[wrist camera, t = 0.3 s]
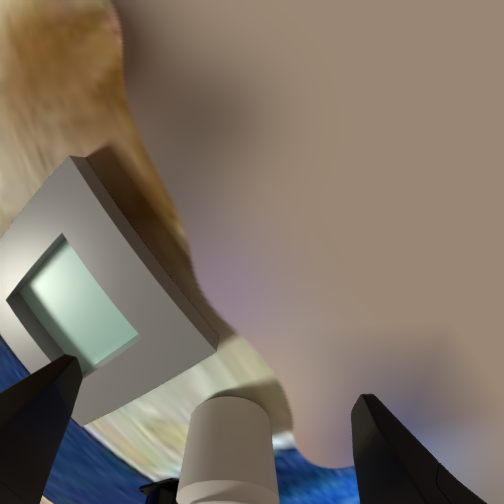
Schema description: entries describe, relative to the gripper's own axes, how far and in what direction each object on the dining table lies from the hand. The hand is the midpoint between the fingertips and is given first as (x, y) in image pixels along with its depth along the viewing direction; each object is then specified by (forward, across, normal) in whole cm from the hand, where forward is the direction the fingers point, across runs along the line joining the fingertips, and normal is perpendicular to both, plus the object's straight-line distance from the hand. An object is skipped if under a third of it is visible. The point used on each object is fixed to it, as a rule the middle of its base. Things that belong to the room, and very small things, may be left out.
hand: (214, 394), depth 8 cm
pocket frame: (+13, +14, +8) cm, 21 cm away
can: (+12, -1, +18) cm, 22 cm away
